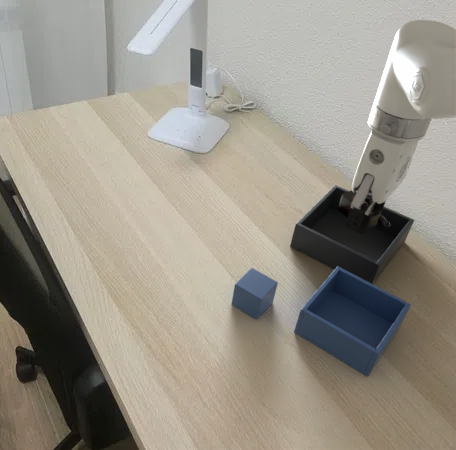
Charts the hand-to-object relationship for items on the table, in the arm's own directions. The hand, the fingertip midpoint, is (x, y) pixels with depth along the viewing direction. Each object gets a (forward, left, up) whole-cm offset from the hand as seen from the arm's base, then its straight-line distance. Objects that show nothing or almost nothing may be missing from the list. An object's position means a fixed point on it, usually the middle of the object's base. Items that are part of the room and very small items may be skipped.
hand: (362, 220), depth 86 cm
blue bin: (-6, +14, -8) cm, 18 cm away
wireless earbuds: (0, -1, -1) cm, 1 cm away
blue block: (+7, +19, -8) cm, 22 cm away
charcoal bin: (+2, -3, -8) cm, 8 cm away
